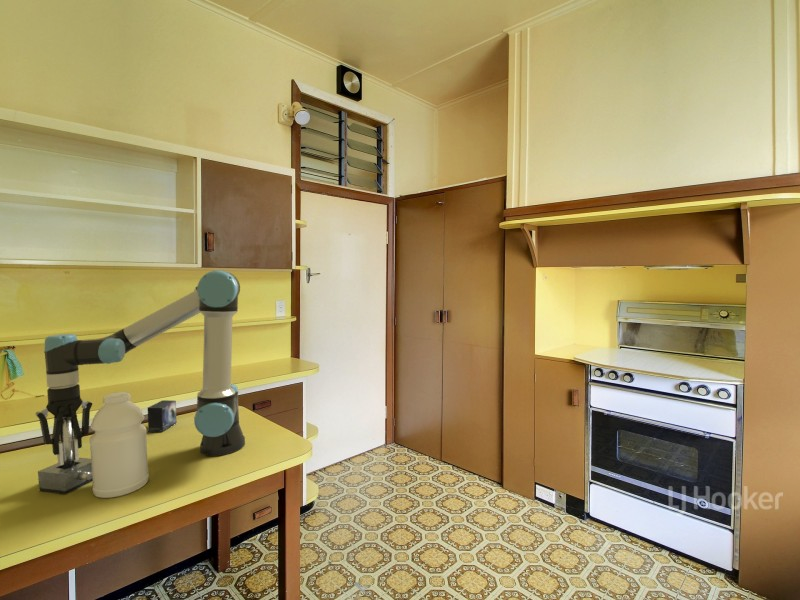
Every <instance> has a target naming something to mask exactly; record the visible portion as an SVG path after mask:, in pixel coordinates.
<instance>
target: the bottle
mask: <svg viewBox="0 0 800 600" xmlns="http://www.w3.org/2000/svg"><path fill="white" fill-rule="evenodd" d="M131 399H132V398H131V393H130V392H127V391H126V392H125V391H123V392H121V391H120V392H115V393H109V394H106V395H105V396H103V398H102V403H103V405H102V406H101V407H100V408H99V409H98V410H97V412H96V413H95V415H94V417H93V418H92V421H91V424H90V425H89V429H90V430H92V431H93V432H94V433H93V434H92V435H91V436H90V438H89V447H90V459H91V464H92V480H93V481H92V493H93V495H94V497H96V498H99V499H107V498H108V499H109V498H112V499H113V498H116V497H122V496H125V495H128V494H131V493H133V492H135V491H137V490H139V489H141V488H143V487H144V486H145V485H146V484H147V483H148V481H149V479H150V478H149V477H150V474H149V465H148V446H147V441H148V440H147V427H146V426H144V424H142V422H143V421H144V420H145V414H144V413H143V411H142V410H141V408H140V406H138V405H137V404H136V403H134V402H133V401H131Z"/></svg>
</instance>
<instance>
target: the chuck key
mask: <svg viewBox="0 0 800 600" xmlns="http://www.w3.org/2000/svg"><path fill="white" fill-rule="evenodd" d="M73 438H74V432H73V425H72V418H71V416H69V415H67V416H64V417H63V419H62V423H61V431H60V439H59V441H60V442H61V443H62V445H63V461H64V465H62V469H68V468H70V467H73V466H75V457H74V441H73Z"/></svg>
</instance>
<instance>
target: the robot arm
mask: <svg viewBox="0 0 800 600" xmlns="http://www.w3.org/2000/svg"><path fill="white" fill-rule="evenodd" d="M240 291H241V285H240V282H239V280H238V278H237V277H236V276H235V275H234V274H233V273H231V272H228V271H225V270H219V269H218V270H211V271H209V272H207V273H205V274H204V275H203V276H202V277H201V278H200V279H199V280H198V283H197V286H195V287H194V290H193V291H192V292H190V293H188V294H186V295H184V296H183V297H180V298H179V299H176V300H175V301H173V302H171V303H169V304H167V305H165V306H163V307H161V308H160V309H158V310H156V311H154V312H152V313H150V314H149V315H146V316H145V317H143V318H140V319H139V320H137V321H135V322H133V323H131V324H130V325H128V326H125V327H124V328H122V329H120V330H118V331H116V332H114V333H113V334H110V335H107V336H104V337H102V338H99V339H98V338H97V339H88V340H87V339H85V340H81V339H80V340H79V339H78V338H77V335H76V334H75V333H73V334H72V333H70V334H69V333H67V334H66V333H62V334H54V335H48V336H46V338H45V339H44V351H43V353H44V360H45V370H46V371H45V373H46V387H48V389H46V392H47V393H46V394H47V404H46V407H45V408H44V409H42V410H41V411H37V412H35V416H36V417H37V418H38V420H39V424H40V430H41V434H42V440H43V442H44V444H45V445H51V446H52V454H53V455H54V456H57V457H56V458H57V463H58V464H59V465H60V466H61V465H64V461H63V445H62V443H61V440H60V431H61V423H62V419H63V417H64V416H67V415H69V416H71V418H72V425H73V441H74V457H75V461H78V460H79V457H80V456H79V449H81V448H82V447H83V441H82V438H83V437H84V436H85V435H88V434H89V432H90V411H91V408H92V407H93V403H92V402H91V401H83V399H82V398H81V389H80V387H81V386H80V384H79V383H80V373H79V372H80V371H79V366H84V365H87V366H88V365H99V364H103V365H104V364H107V365H108V364H115V363H120V362H122V361H123V360H124V357H125V354H128V353H129V352H130V351H132V350H134V349H136V348H137V347H140V346H141V345H142V344H144V343H147V342H148V341H150V340H152V339H154V338H156V337H158V336H159V335H161V334H163V333H165V332H167V331H168V330H171V329H172V328H175V327H176V326H178V325H180V324H182V323H183V322H186V321H187V320H190V319H191V318H192V317H195V316H196V315H198V314H201V315H202V316H203V318H204V319H203V355H202V357H203V359H202V363H203V364H202V366H203V367H202V389H200V390H199V392H197V396H196V397H197V398H196V399H197V400H196V401H197V402H196V412H195V415H194V417H193V419H194V423H193V424H194V426H195V429H196V430H197V432H199V433H200V434H201V435H202V438H201V441H200V445H199V447H200V448H199V451H200V454H202V455H204V456H210V457H215V456H224V455H229V454H232V453H234V452H237V451H240V450H242V449H243V447H245V445H246V440H245V439H246V438H245V435H244V433H243V431H242V428H241V425H240V417H239V415H240V412H239V389H238V386H237V385H236V384H233V383H232V358H233V357H232V353H233V349H232V348H233V317H234V316H235V315H236V314H237V313H238V308H239V306H238V304H239V301H238V300H239V295H240ZM80 407H81V408H82V410H81V411H82V415H81V426H80V424H79V420H78V414H77V411H78V410H79V408H80ZM48 413H50V414H51V415H53V416H54V417H53V427H52V436H51V434H50V433H51V432H50V428H49V423H48V419H47V417H48V415H49V414H48ZM80 427H81V428H80Z"/></svg>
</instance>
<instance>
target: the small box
mask: <svg viewBox="0 0 800 600" xmlns="http://www.w3.org/2000/svg"><path fill="white" fill-rule="evenodd" d="M176 423H178V422H177V401H176V400H167V399H166V400H160V401H159V402H157V403H154V404H152V405H150V406H148V407H147V430H148V431H147V432H148V433H163V432H165V431H167V430H168V429H170V428H171V426H172V427H173V426H175V425H176ZM174 424H175V425H174ZM166 429H167V430H166Z"/></svg>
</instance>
